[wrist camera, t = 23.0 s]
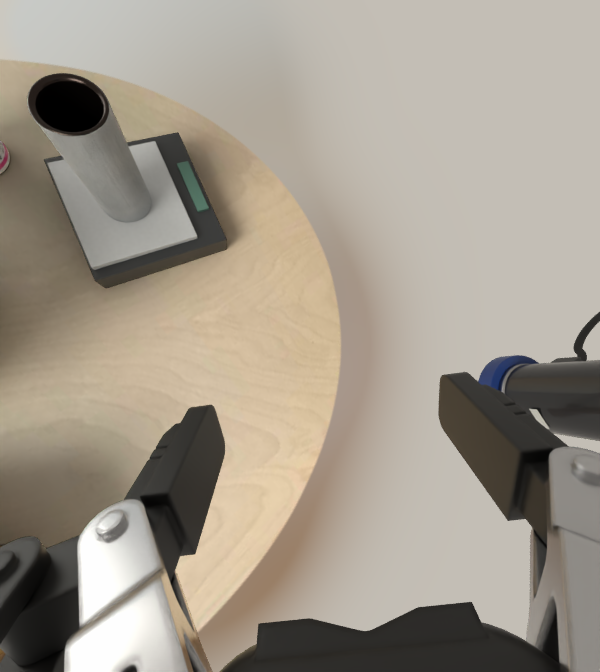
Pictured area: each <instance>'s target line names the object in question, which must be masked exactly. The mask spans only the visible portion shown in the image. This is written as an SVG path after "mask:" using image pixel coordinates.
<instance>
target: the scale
mask: <svg viewBox="0 0 600 672" xmlns="http://www.w3.org/2000/svg"><path fill="white" fill-rule="evenodd" d="M127 144H128V146H129V149H130V151H131V153H132V155H133V158H134V160H135V162H136V164H137V167H138V169H139V171H140V173H141V176H142V178H143V180H144V182H145V185H146V187H147V189H148V191H149V194H150V197H151V208H150V210H149V212H148V214H147V215H146V216H145V217H143V218H142V219H140V220H138V221H135V222H120V221H117V220H114V219H112V218H111V217H109V216H108V215H107V214H106V213H105V212H104V211H103V210H102V208H101V207H100V206H99V204H98V203H97V202H96V200H95V199H94V198H93V196H92V195H91V194H90V192H89V191H88V190H87V189H86V187H85V186H84V185H83V183H82V182H81V181H80V179H79V178H78V177H77V175H76V174H75V173H74V171H73V170H72V169H71V167H70V166H69V165H68V164H67V162H66V161H65V160H64V158H63V157H62V156H58V157H53V158H48V159H44V161H45V164H46V166H47V168H48V171H49V173H50V175H51V178H52V180H53V182H54V185H55V187H56V190H57V192H58V194H59V197H60V199H61V201H62V204H63V206H64V208H65V211H66V213H67V216H68V218H69V220H70V223H71V225H72V227H73V230H74V232H75V235H76V237H77V239H78V242H79V244H80V246H81V249H82V251H83V253H84V256H85V258H86V261H87V263H88V265H89V268H90V270H91V272H92V275H93V277H94V279H95V281H96V282H98V283H99V284H100V285H102V286H103V287H104V288H109V287H112V286H115V285H118V284H121V283H124V282H128V281H131V280H134V279H137V278H140V277H143V276H146V275H149V274H152V273H155V272H158V271H161V270H165V269H168V268H171V267H174V266H177V265H180V264H183V263H186V262H189V261H192V260H195V259H199V258H202V257H205V256H208V255H211V254H214V253H217V252H220V251H223V250H226V249H227V240H226V237H225V235H224V233H223V230H222V228H221V226H220V224H219V221H218V219H217V217H216V215H215V213H214V210H213V208H212V206H211V204H210V202H209V199H208V197H207V195H206V193H205V190H204V188H203V186H202V184H201V182H200V179H199V177H198V175H197V173H196V170H195V168H194V166H193V164H192V162H191V159H190V157H189V155H188V153H187V150H186V148H185V146H184V144H183V142H182V139H181V137H180V135H179V133H178V132H177V133H172V134H167V135H162V136H157V137H152V138H147V139H142V140H137V141H132V142H127Z"/></svg>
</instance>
